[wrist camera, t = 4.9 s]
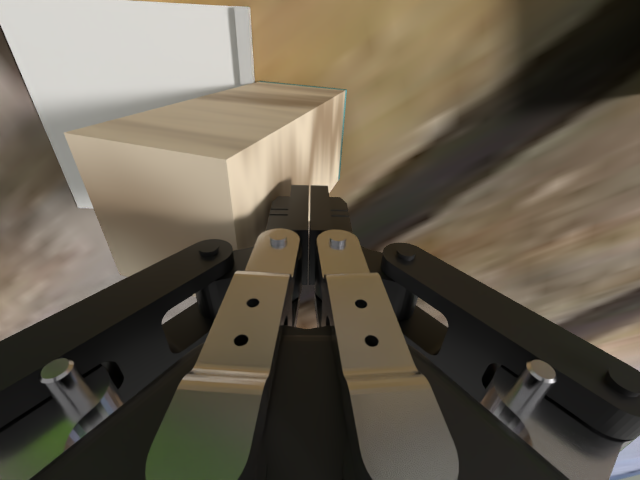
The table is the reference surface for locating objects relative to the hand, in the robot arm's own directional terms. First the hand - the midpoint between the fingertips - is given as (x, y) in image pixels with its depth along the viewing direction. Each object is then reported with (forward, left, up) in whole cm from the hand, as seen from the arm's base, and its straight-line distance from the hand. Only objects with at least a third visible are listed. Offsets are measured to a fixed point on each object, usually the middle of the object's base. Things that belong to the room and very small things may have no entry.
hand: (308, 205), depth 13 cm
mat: (0, -11, -12) cm, 16 cm away
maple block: (0, -1, -11) cm, 11 cm away
